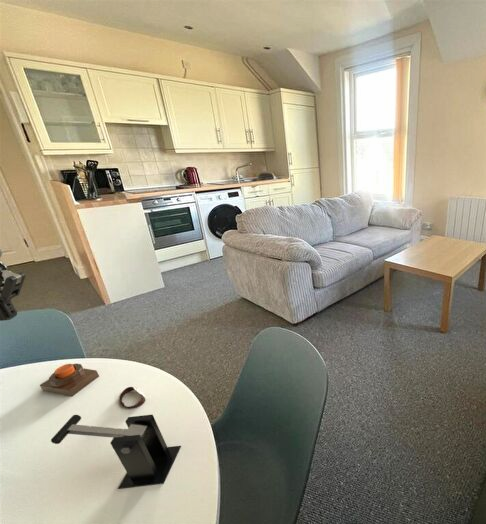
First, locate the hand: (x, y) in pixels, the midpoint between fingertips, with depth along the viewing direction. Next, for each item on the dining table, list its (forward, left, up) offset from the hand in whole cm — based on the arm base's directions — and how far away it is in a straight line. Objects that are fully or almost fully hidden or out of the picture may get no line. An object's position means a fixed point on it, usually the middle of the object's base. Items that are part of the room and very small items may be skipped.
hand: (8, 318), depth 58 cm
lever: (+24, -16, -17) cm, 33 cm away
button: (-6, +9, -23) cm, 26 cm away
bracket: (+29, -16, -27) cm, 43 cm away
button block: (-6, +10, -27) cm, 29 cm away
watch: (+15, +1, -27) cm, 31 cm away
